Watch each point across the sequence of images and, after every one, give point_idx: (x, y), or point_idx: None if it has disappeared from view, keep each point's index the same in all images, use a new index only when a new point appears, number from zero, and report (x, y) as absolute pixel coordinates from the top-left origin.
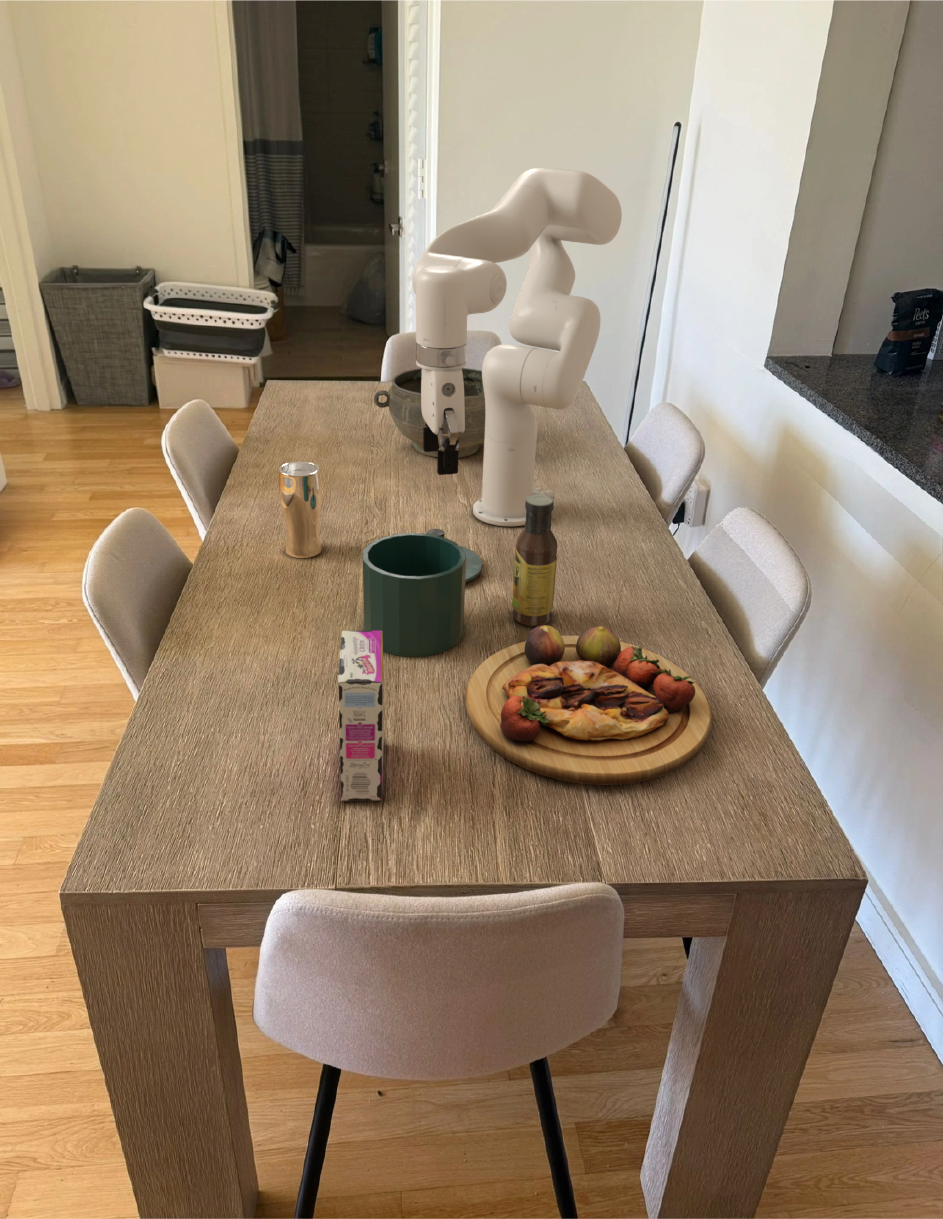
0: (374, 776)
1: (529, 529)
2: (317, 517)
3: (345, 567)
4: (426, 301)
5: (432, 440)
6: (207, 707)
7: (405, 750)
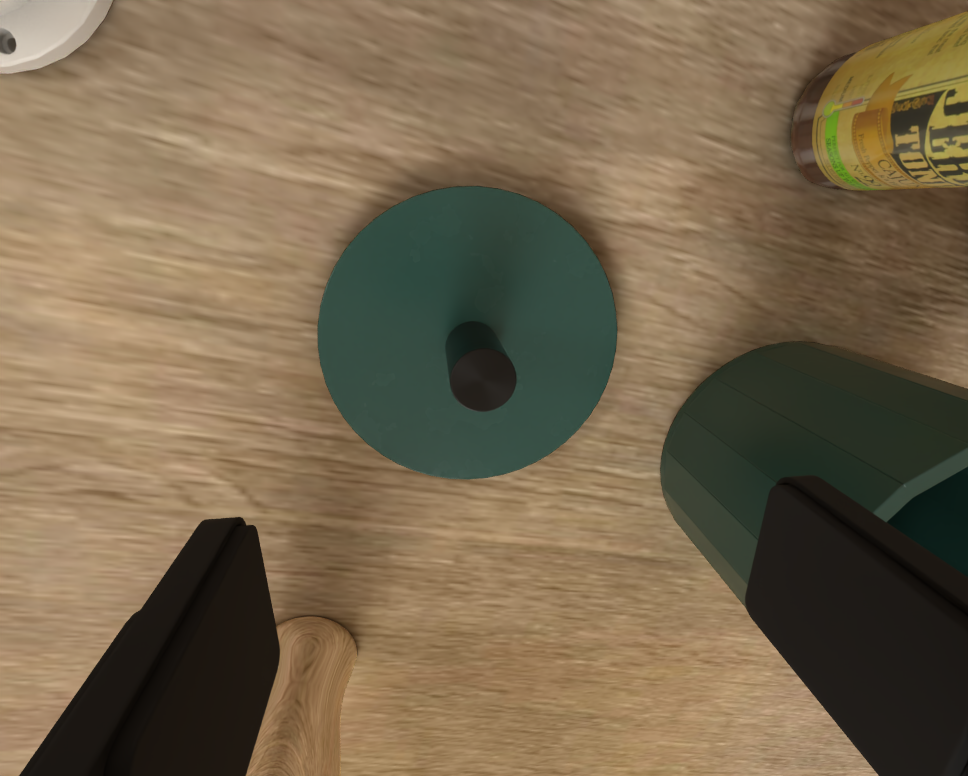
0: None
1: None
2: (312, 723)
3: (420, 567)
4: None
5: (232, 700)
6: (848, 756)
7: None
